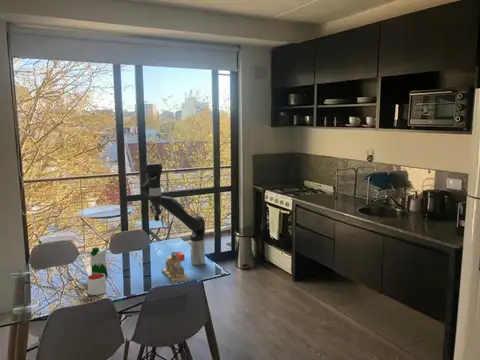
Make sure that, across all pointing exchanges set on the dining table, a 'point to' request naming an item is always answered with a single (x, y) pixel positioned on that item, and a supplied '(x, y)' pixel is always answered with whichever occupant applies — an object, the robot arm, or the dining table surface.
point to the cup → (96, 284)
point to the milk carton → (98, 261)
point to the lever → (178, 255)
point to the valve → (174, 270)
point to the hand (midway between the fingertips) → (156, 220)
